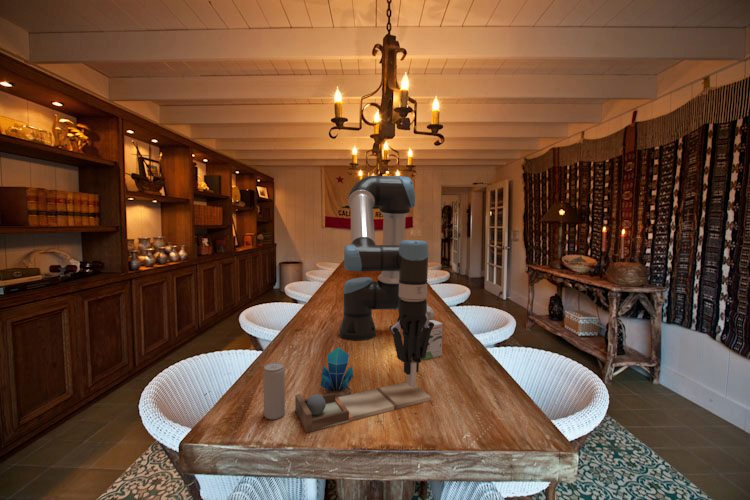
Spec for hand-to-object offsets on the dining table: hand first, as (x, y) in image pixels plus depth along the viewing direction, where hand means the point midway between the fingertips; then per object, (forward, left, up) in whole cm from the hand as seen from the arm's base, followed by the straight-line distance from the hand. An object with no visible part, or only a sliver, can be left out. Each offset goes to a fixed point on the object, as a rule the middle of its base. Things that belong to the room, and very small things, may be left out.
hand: (410, 384), depth 94 cm
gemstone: (-9, -18, -3) cm, 20 cm away
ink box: (-21, +20, -3) cm, 29 cm away
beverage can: (-5, -35, -3) cm, 36 cm away
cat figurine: (-58, +44, -3) cm, 73 cm away
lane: (0, -14, -3) cm, 14 cm away
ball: (-1, -26, 0) cm, 26 cm away
